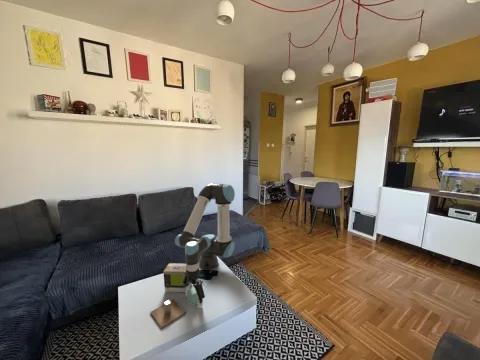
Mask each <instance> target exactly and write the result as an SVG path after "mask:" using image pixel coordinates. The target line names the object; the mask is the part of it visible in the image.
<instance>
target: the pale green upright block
mask: <svg viewBox="0 0 480 360" xmlns="http://www.w3.org/2000/svg"><path fill="white" fill-rule="evenodd" d="M187 292H188V296H187V303H188V304H190V306H192V307H194V306H196V305H198V295H197V292H196V290H195V287H192V288H191V287H190V290H188V291H187Z"/></svg>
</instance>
